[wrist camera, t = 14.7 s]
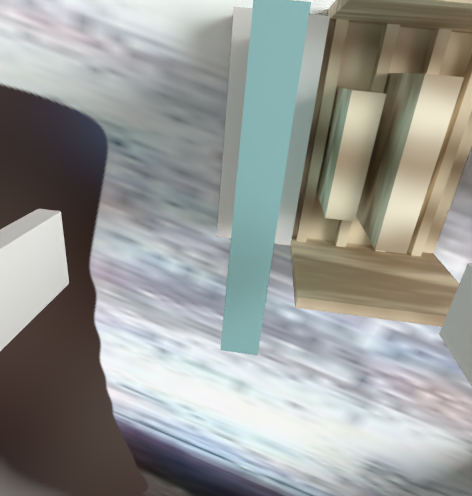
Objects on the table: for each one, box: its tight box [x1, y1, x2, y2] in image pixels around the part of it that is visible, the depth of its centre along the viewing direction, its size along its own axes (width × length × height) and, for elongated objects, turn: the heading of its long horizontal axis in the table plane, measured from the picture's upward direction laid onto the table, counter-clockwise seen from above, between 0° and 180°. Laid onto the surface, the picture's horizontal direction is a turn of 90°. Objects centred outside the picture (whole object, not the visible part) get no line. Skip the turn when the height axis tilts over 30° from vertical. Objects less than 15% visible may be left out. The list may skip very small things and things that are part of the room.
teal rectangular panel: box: [221, 0, 311, 355], centre depth 26 cm, size 16×2×22 cm, turn 175°
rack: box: [290, 0, 472, 327], centre depth 31 cm, size 22×15×14 cm
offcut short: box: [317, 87, 386, 221], centre depth 32 cm, size 10×2×7 cm, turn 175°
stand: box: [217, 7, 330, 246], centre depth 35 cm, size 20×8×4 cm, turn 175°
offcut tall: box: [356, 73, 464, 254], centre depth 31 cm, size 13×2×9 cm, turn 175°
